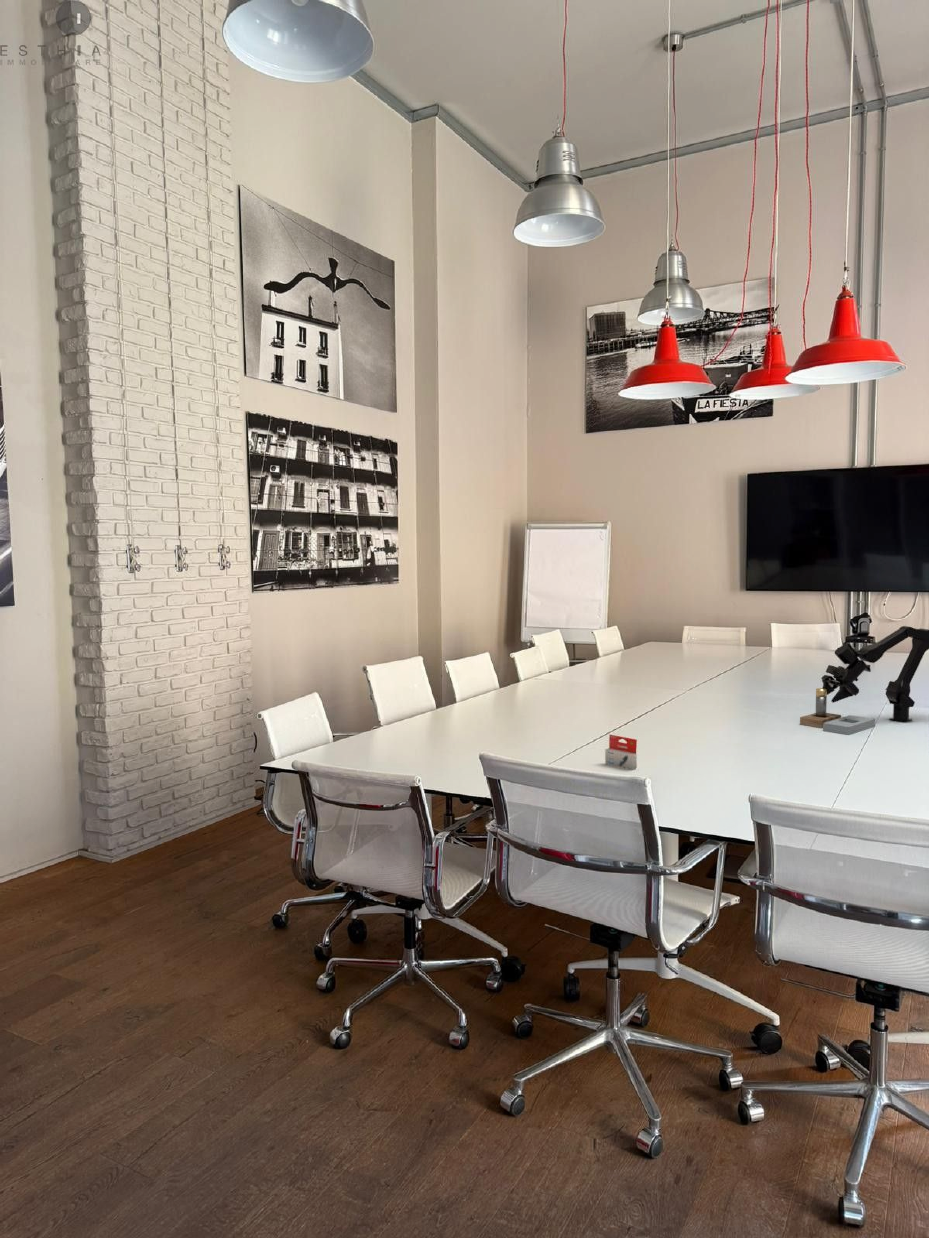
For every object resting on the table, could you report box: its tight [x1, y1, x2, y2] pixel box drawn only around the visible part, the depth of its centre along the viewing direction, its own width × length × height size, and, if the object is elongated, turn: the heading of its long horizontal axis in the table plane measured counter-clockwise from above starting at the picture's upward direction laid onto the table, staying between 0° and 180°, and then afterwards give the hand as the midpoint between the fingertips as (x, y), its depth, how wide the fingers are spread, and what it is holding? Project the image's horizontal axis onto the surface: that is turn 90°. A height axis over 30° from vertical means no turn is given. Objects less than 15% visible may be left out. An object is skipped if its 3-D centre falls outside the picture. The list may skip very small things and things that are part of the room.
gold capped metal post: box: [815, 687, 828, 718], centre depth 330 cm, size 4×4×14 cm
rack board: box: [822, 714, 876, 736], centre depth 321 cm, size 22×10×3 cm, turn 130°
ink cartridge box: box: [604, 734, 638, 771], centre depth 269 cm, size 2×11×10 cm, turn 44°
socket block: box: [799, 712, 842, 729], centre depth 330 cm, size 16×9×3 cm, turn 130°
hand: (825, 699), depth 330 cm, fingers open, 9 cm apart
